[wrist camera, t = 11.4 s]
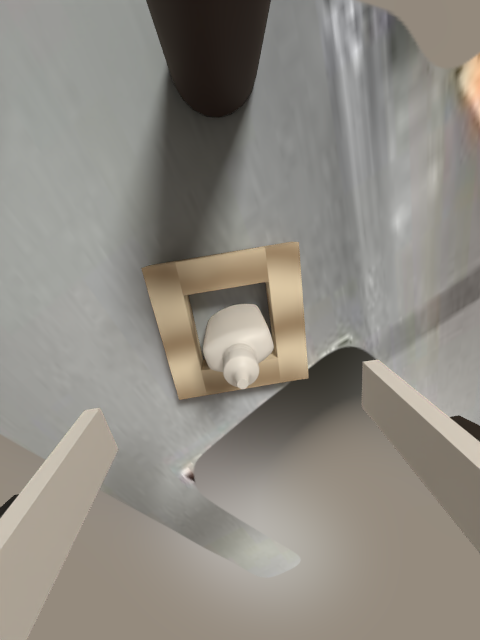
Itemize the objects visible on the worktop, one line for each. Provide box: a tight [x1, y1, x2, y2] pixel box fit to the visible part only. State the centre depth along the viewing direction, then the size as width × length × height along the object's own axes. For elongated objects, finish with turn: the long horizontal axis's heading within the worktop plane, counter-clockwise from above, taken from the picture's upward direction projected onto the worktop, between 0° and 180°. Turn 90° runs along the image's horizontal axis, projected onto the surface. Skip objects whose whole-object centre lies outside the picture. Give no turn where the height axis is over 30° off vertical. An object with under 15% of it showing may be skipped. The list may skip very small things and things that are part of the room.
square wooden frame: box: [141, 242, 308, 400], centre depth 25 cm, size 14×14×2 cm
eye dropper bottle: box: [203, 304, 274, 389], centre depth 20 cm, size 4×6×12 cm
